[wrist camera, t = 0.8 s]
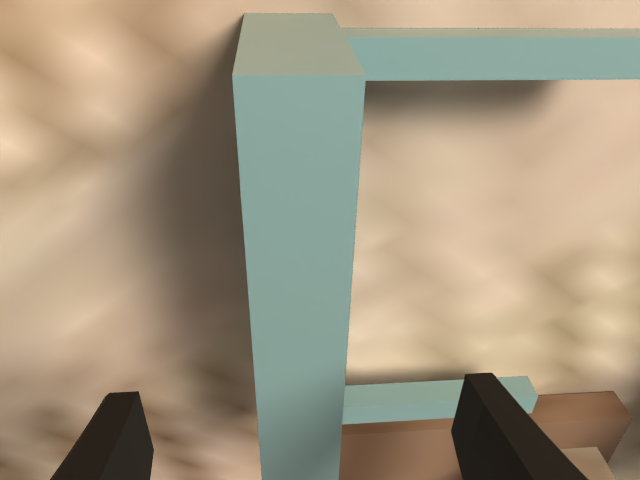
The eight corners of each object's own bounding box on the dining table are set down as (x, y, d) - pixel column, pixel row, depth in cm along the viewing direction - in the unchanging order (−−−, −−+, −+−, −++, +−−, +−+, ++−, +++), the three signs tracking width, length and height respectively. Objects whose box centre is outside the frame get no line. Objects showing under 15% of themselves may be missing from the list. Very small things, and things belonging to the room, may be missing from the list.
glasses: (606, 13, 15) (775, 72, 10) (502, 356, 23) (568, 486, 18) (242, 12, 14) (229, 75, 9) (263, 368, 22) (262, 507, 17)
